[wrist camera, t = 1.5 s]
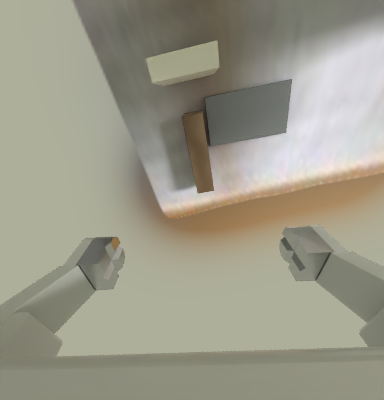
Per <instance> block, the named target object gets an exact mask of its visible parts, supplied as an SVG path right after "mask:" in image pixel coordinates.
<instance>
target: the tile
mask: <svg viewBox="0 0 384 400" xmlns="http://www.w3.org/2000/svg"><path fill="white" fill-rule="evenodd" d="M146 62H147V66H148V70H149V74H150V78H151V81H152V83H154V84H159V85H163V86H166V85H170V84H175V83H179V82H183V81H188V80H192V79H196V78H201V77H205V76H210V75H213V74H214V73H215V72H216V71H217V70H218V68H219V53H218V40H216V41H212V42H208V43H204V44H200V45H196V46H192V47H188V48H184V49H180V50H176V51H172V52H169V53H165V54H161V55H157V56H153V57H149V58H146Z"/></svg>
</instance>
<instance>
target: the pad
mask: <svg viewBox="0 0 384 400" xmlns="http://www.w3.org/2000/svg"><path fill="white" fill-rule="evenodd" d="M291 84H292V79H290V80H285V81H281V82H276V83H271V84H267V85H262V86H257V87H253V88H248V89H243V90H239V91H234V92H229V93H225V94H220V95H215V96H211V97H206V98H205V105H206V113H207V121H208V129H209V137H210V145H211V146H214V145H220V144H226V143H231V142H237V141H242V140H248V139H254V138H259V137H265V136H270V135H276V134H282V133H286V128H287V119H288V110H289V101H290V93H291Z"/></svg>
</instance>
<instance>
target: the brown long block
mask: <svg viewBox="0 0 384 400" xmlns="http://www.w3.org/2000/svg"><path fill="white" fill-rule="evenodd" d="M182 120H183V125H184V130H185V135H186V139H187V144H188V149H189V154H190V158H191V163H192V168H193V173H194V177H195V182H196V187H197V192H198V193H203V192H209V191H214V187H213V180H212V173H211V167H210V160H209V153H208V146H207V140H206V133H205V126H204V119H203V113H202V110H199V111H194V112H190V113H185V114H183V116H182Z"/></svg>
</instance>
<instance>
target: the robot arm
mask: <svg viewBox="0 0 384 400" xmlns="http://www.w3.org/2000/svg"><path fill="white" fill-rule="evenodd" d="M283 235H284V236H285V237H284V238H283V239H281V241H280V252H281V255H282V257H283V259H284V260H285V261H287V262H288V263H290V264H289V269H290V271H291V273H292V274H293V276H294V278H295V280H296V281H316V282H317V283H318V284H320V285H321V286H322V287H323V288H325V289H326V290H327V291H328V292H329V293H331V294H332V295H333V296H335V297H336V298H337V299H338V300H339V301H341V302H342V303H343V304H344V305H346V306H347V307H348V308H349V309H351V310H352V311H353V312H354V313H356V314H357V315H358V316H359V317H361V318H362V319H363V320H364V321H366V322H367V324H366V325H365V326H364V327H363V328H362V329H361V330H360V333H359V334H360V336H361V337H362V338H363V340H364V341H365V343H366V344H367V346H368V347H355V348H323V349H289V350H255V351H225V352H224V351H222V352H189V353H159V354H158V353H157V354H126V355H125V354H124V355H92V356H91V355H90V356H57V357H56V355H57V353H58V352H59V349H60V348H61V346H62V340H61V339H60V338H59V337H57V336H56V335H55V333H56V332H57V331H58V330H59V329H60V327H61V326H62V325H63V324H64V323H65V322H66V321H67V320H68V319H69V318H70V317H71V316H72V315H73V314H74V313H75V312H76V311H77V310H78V309H79V308H80V307H81V306H82V305H83V304H84V303H85V302H86V301H87V300H88V299H89V298H90V296H91V295H92V294H93V293H94V292H95V290H107V289H114V286H115V284H116V281H117V279H118V277H119V275H118V271H119V270H120V269H121V268H122V267H123V264H124V259H125V254H124V250H123V248H121V247H120V246H119V244H120V241H119V239H118V237H96V238H86V239H84V240H82V242H81V243H80V244H79V246H78V247H77V248H76V250H75V251H74V252H73V254H72V255H71V256H70V257H69V259H68V260H67V261H66V263H65V264H64V265H63V266H60V267H58V268H56V269H55V270H53V271H52V272H50V273H48V274H47V275H45V276H44V277H43V278H41V279H39V280H38V281H36V282H35V283H33V284H32V285H30V286H29V287H27V288H26V289H24V290H22V291H21V292H20V293H18V294H16V295H15V296H13V297H12V298H10V299H9V300H7V301H6V302H4V303H3V304H1V305H0V400H384V267H383V266H381V265H379V264H377V263H375V262H373V261H371V260H368V259H366V258H364V257H362V256H360V255H358V254H356V253H354V252H348V251H347V250H346V249H345V248H344V247H343V246H342V245H341V244H340V243H339V242H338V241H337V240H336V239H335V238H334V237H333V236H332V235H331V234H330V233H329V232H328V231H327V230H326V229H325V228H324V227H322V226H320V225H311V226H298V227H286V228H285V229H284V230H283Z"/></svg>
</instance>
